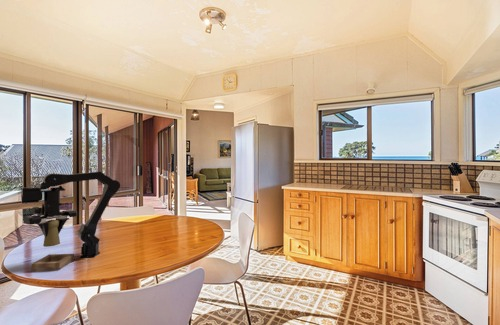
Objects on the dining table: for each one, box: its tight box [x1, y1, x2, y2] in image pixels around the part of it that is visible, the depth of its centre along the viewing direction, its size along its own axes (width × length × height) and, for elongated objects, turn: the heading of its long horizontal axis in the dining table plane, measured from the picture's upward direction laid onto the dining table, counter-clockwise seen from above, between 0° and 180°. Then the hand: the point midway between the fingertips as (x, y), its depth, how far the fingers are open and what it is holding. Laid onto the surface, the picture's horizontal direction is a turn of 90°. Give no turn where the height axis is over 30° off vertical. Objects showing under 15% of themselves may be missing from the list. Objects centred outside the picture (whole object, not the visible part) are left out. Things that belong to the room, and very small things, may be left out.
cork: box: [42, 219, 61, 248], centre depth 112 cm, size 6×6×11 cm
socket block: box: [30, 253, 75, 272], centre depth 110 cm, size 11×11×3 cm
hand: (51, 235), depth 112 cm, fingers closed on cork, 4 cm apart
